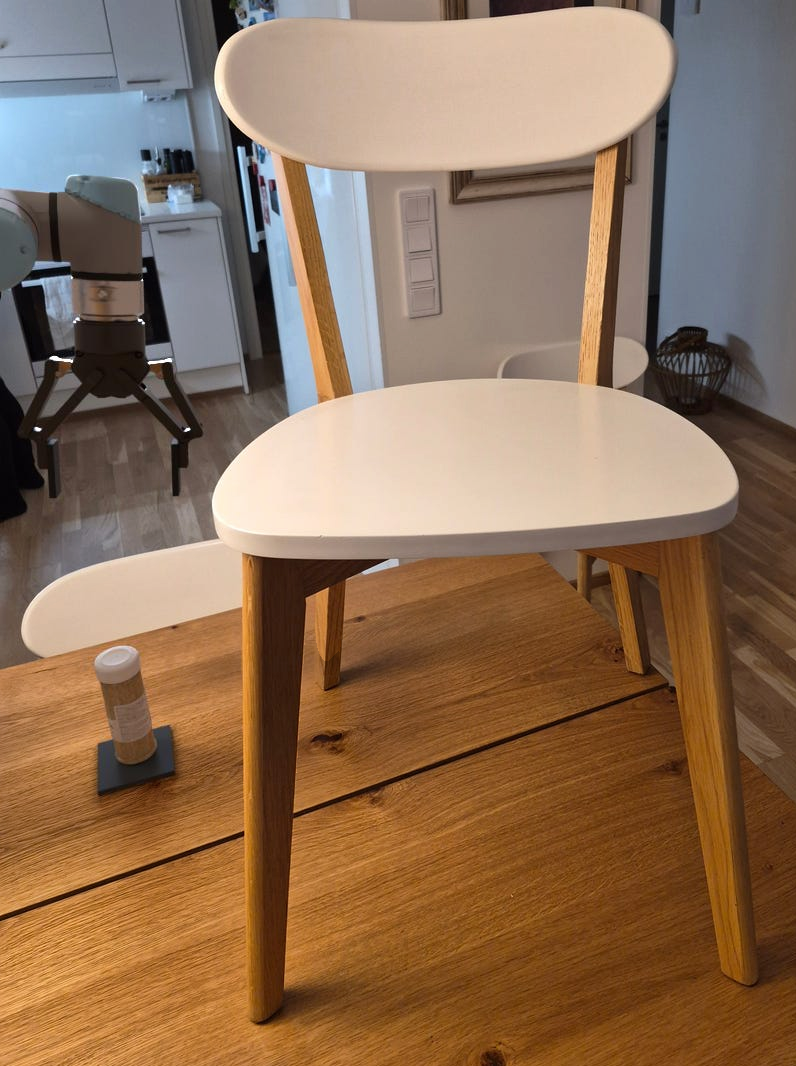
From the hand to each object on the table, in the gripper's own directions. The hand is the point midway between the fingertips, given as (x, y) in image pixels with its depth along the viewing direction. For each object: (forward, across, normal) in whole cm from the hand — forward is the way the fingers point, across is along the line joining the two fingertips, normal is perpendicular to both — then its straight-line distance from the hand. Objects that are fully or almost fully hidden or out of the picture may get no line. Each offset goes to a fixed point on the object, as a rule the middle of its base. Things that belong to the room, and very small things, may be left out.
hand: (117, 494), depth 103 cm
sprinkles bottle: (+27, +3, -13) cm, 30 cm away
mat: (+28, +3, -13) cm, 31 cm away
